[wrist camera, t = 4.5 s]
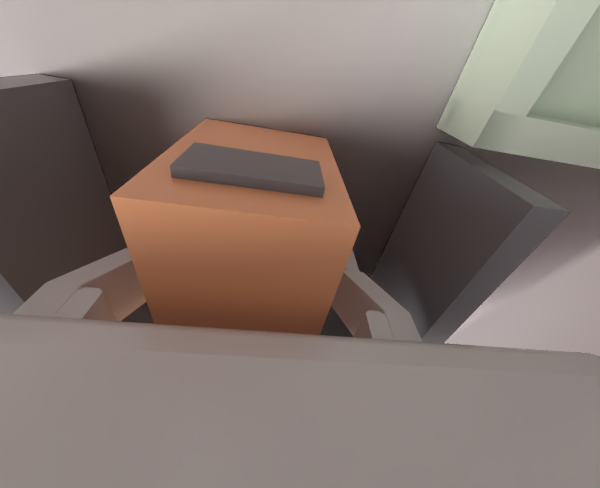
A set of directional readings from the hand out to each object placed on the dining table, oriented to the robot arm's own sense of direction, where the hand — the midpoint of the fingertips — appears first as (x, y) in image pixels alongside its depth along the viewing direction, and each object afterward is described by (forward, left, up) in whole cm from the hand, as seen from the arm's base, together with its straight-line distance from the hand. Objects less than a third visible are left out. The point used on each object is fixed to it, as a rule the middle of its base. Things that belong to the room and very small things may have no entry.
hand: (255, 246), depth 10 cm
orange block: (0, 0, -2) cm, 2 cm away
